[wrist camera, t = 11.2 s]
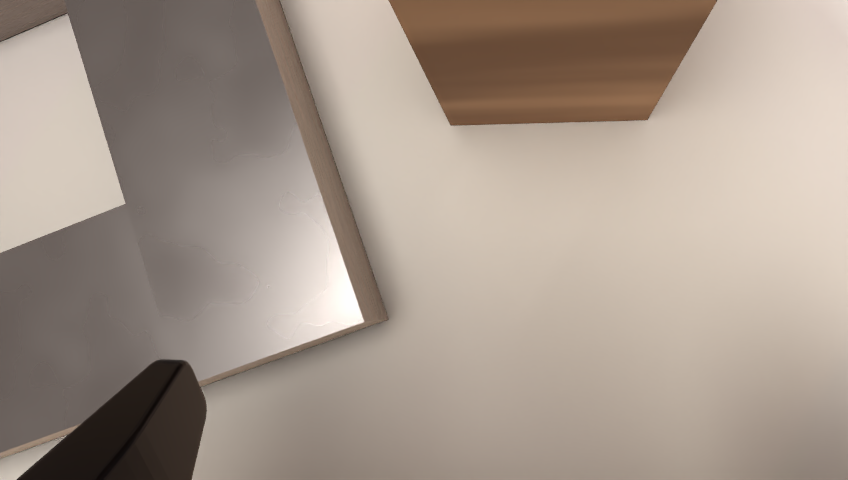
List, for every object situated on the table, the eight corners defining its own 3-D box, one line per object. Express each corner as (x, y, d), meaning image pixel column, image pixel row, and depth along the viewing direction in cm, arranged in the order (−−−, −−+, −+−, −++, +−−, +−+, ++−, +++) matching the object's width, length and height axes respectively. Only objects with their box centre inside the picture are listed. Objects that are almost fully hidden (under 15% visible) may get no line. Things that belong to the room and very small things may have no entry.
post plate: (388, 319, 18) (364, 321, 15) (-134, 506, 19) (-233, 536, 17) (207, -209, 19) (159, -283, 17) (-258, 1, 21) (-364, -39, 19)
